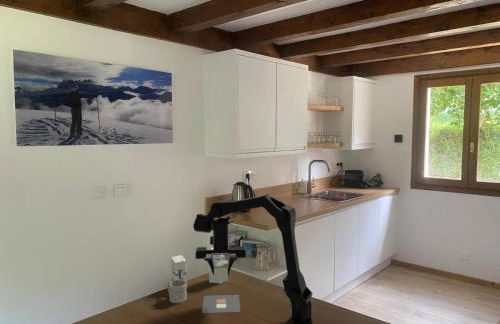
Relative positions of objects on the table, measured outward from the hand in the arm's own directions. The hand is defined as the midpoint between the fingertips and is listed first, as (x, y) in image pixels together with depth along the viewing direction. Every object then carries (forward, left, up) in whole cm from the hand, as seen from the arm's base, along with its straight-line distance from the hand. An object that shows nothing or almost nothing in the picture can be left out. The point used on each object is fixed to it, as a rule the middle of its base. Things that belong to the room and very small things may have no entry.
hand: (221, 274), depth 138 cm
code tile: (0, 0, -11) cm, 11 cm away
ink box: (+18, -18, -12) cm, 28 cm away
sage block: (0, 0, -1) cm, 1 cm away
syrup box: (+2, -22, -12) cm, 25 cm away
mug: (+18, -6, -12) cm, 22 cm away
